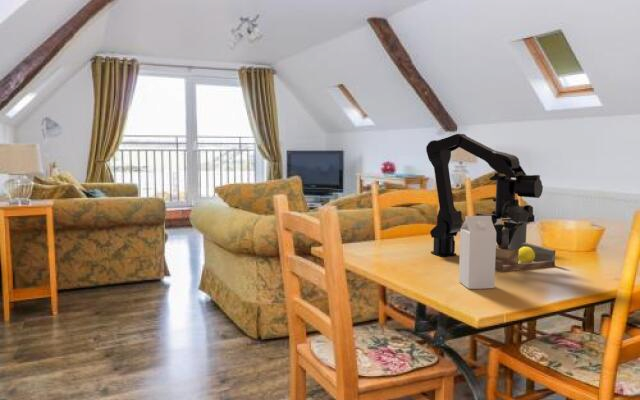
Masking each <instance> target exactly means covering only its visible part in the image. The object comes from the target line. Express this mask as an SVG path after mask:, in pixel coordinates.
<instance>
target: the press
mask: <svg viewBox="0 0 640 400" xmlns="http://www.w3.org/2000/svg"><path fill="white" fill-rule="evenodd" d="M522 247H530V248H532V250H533V251H534V252H535V259H534V260H533V261H532V262H529V263H522V262H521V263H519V262H518V264H510V265H503V261H499V260H496V259H495V271H496V270H497V272H499V271H500V272H499V273H502V272H501V271H503V272H511V270H513V271H519V270H520V269H522V270H527V269H528V270H530V268H531V269H539V268H546V267H547V268H548V267H555V266H556V265H555V264H556V249H552V248H548V247H544V246H540V245H535V244H531V243H528V242H526V243H522ZM522 247H521V248H522Z"/></svg>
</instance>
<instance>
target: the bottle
mask: <svg viewBox="0 0 640 400" xmlns="http://www.w3.org/2000/svg"><path fill="white" fill-rule="evenodd" d="M520 223H523V225H521V226H519V227H518V228H517V229H516V231H515V233H514V235H513V238H512V240H511V242H510V244H509V247H508V248H512V249H515V250H519V249H520V248H521V247H522V243H527V227H528V226H527V225H528V222H520Z"/></svg>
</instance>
